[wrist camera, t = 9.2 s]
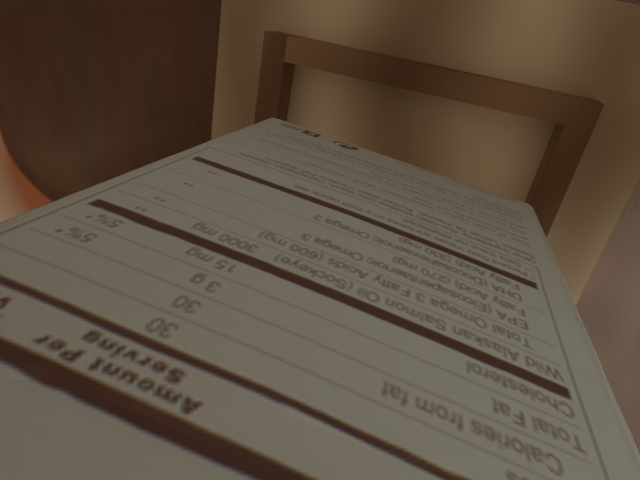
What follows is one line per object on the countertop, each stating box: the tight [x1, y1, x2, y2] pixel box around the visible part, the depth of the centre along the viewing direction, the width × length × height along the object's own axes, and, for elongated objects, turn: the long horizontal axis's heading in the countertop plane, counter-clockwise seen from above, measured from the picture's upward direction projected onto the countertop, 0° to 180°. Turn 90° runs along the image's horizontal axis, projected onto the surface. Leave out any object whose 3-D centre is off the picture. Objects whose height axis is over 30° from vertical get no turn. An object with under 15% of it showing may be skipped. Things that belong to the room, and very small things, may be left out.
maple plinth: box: [211, 0, 640, 306], centre depth 19 cm, size 15×16×5 cm
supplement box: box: [0, 118, 640, 480], centre depth 8 cm, size 7×7×13 cm
